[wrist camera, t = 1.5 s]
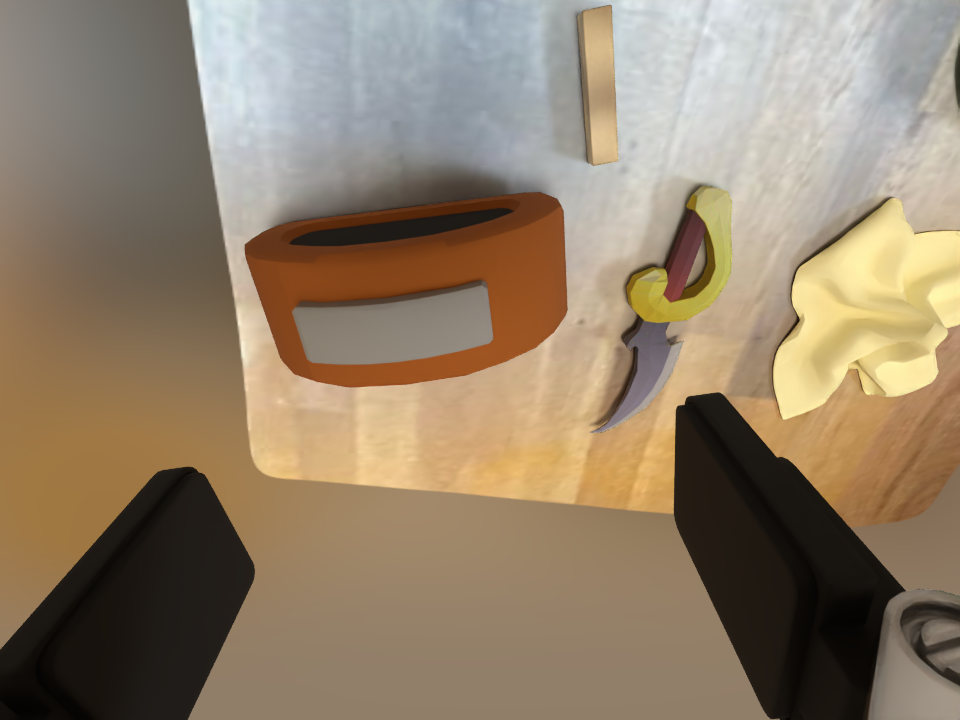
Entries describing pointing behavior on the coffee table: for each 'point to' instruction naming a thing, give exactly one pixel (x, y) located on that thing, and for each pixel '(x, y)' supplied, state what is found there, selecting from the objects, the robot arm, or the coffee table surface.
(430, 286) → the orange oval container
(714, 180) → the coffee table surface
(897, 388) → the cloth
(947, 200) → the coffee table surface
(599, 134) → the wooden block
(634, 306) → the knife
